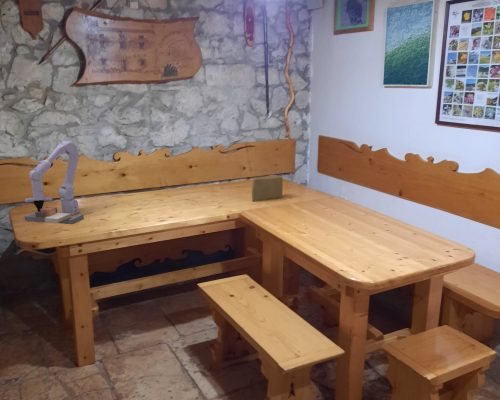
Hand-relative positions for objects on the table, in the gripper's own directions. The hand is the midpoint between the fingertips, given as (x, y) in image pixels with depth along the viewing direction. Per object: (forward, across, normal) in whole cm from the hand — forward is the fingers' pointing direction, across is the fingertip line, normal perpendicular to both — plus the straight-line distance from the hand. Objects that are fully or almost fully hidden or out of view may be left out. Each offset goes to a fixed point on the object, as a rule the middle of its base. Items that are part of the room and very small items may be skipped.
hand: (40, 212), depth 297 cm
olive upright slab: (+4, -139, -12) cm, 140 cm away
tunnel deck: (+3, -8, +4) cm, 9 cm away
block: (+1, -5, +2) cm, 5 cm away
